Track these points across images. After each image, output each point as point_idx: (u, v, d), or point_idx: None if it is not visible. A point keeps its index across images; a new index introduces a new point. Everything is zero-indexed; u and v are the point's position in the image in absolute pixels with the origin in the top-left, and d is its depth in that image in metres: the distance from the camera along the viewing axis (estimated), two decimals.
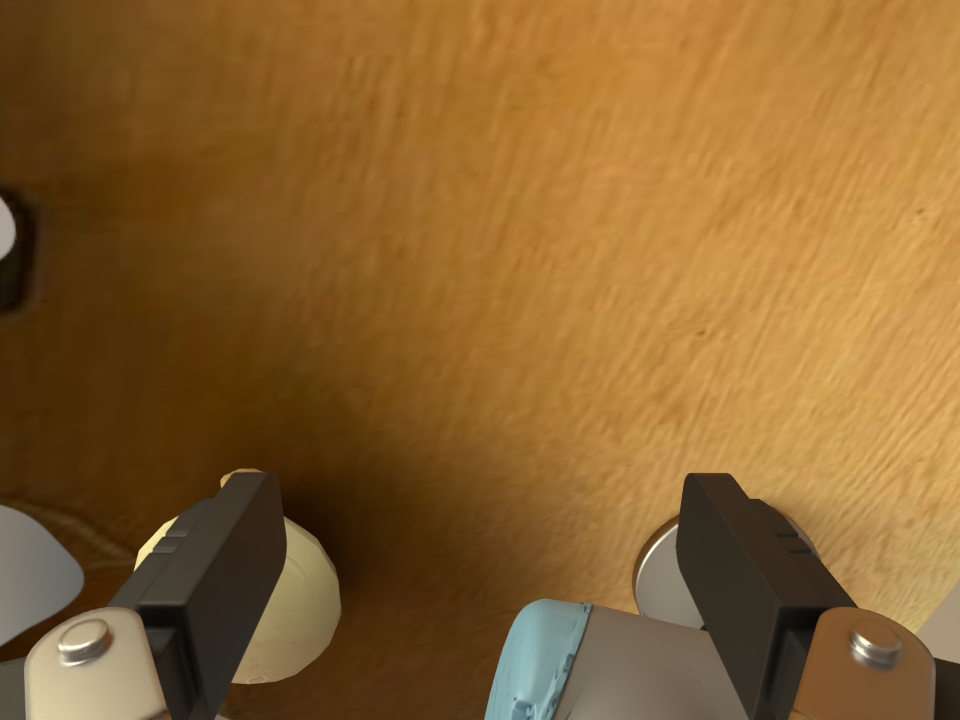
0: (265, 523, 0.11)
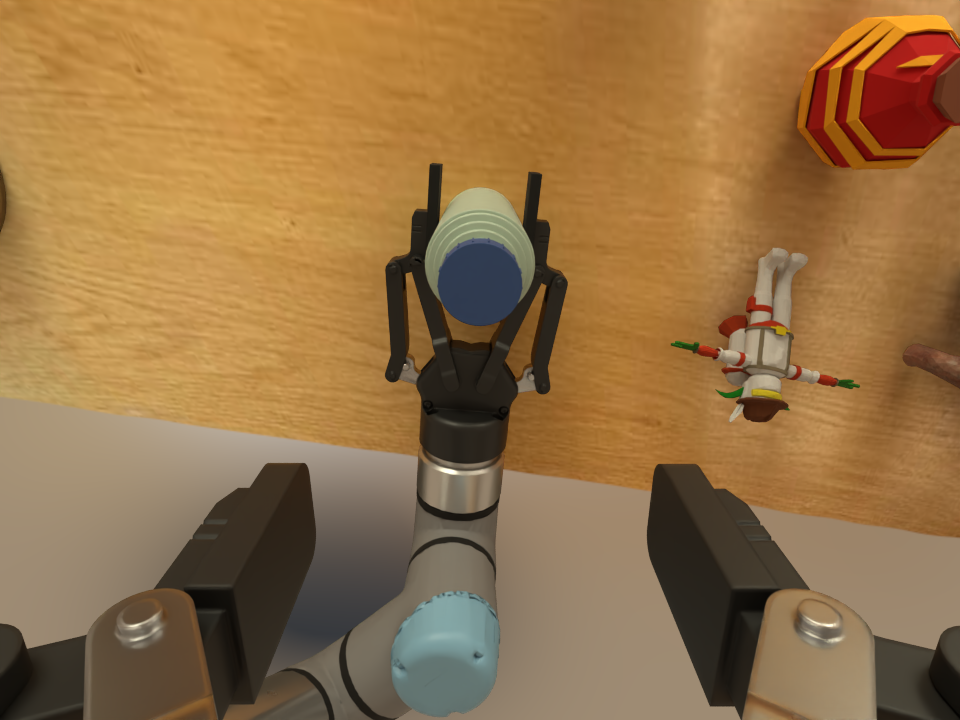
0: (298, 512, 0.11)
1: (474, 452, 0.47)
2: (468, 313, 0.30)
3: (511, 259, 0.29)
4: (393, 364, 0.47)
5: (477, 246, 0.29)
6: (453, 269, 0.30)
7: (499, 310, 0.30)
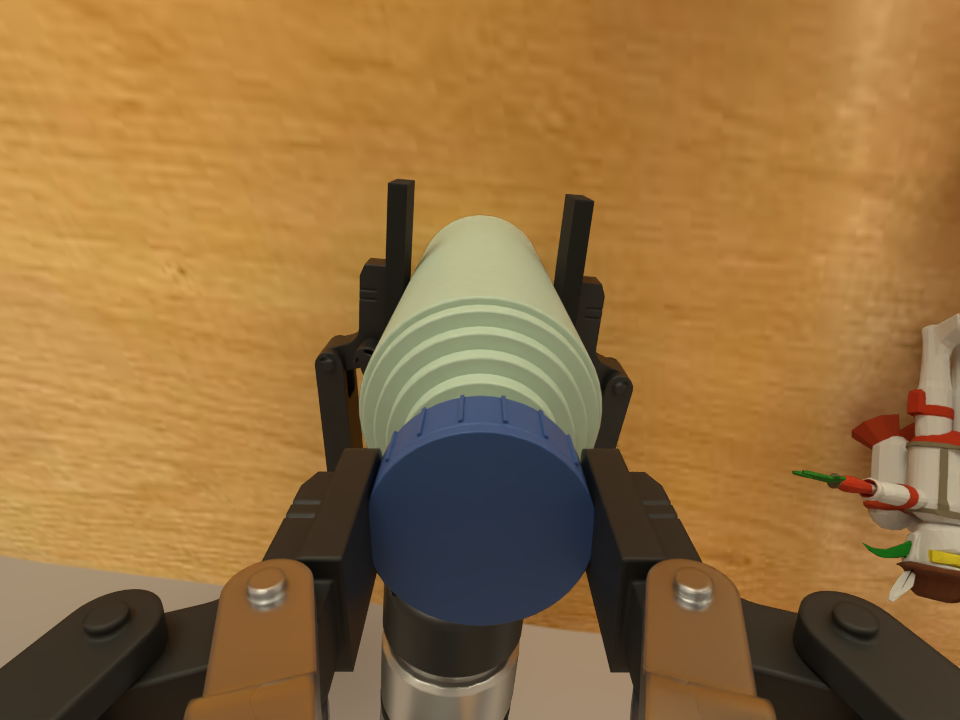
0: None
1: (471, 661, 0.28)
2: (449, 599, 0.11)
3: (569, 472, 0.10)
4: None
5: (473, 440, 0.10)
6: (406, 497, 0.11)
7: (532, 592, 0.11)
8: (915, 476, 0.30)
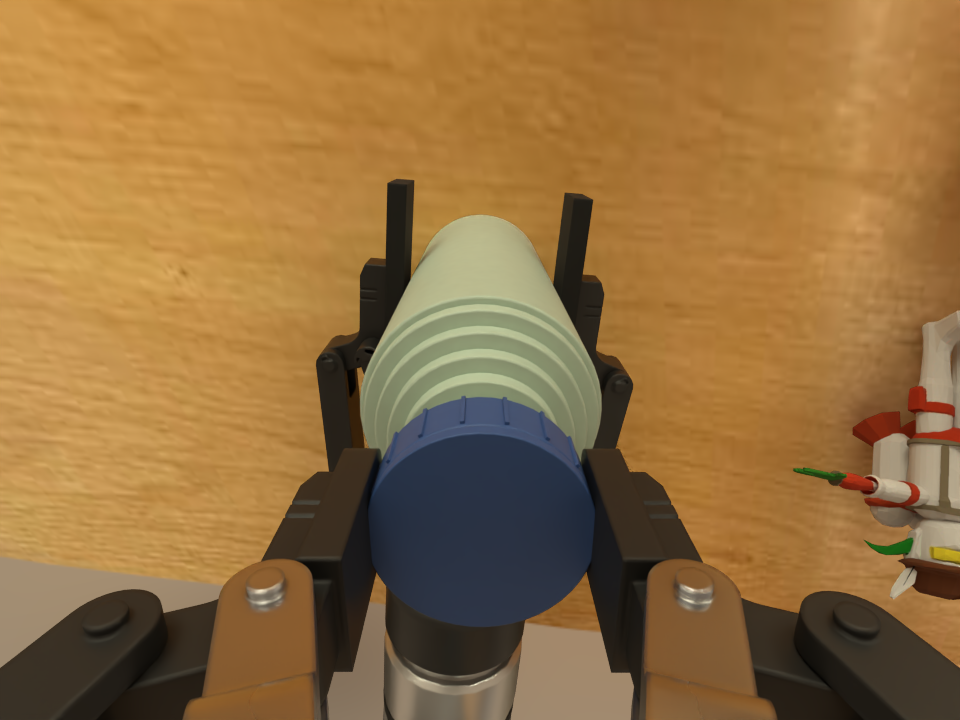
0: None
1: (473, 659, 0.28)
2: (566, 545, 0.11)
3: (386, 481, 0.10)
4: None
5: (382, 564, 0.11)
6: (458, 601, 0.11)
7: (537, 475, 0.10)
8: (916, 473, 0.30)
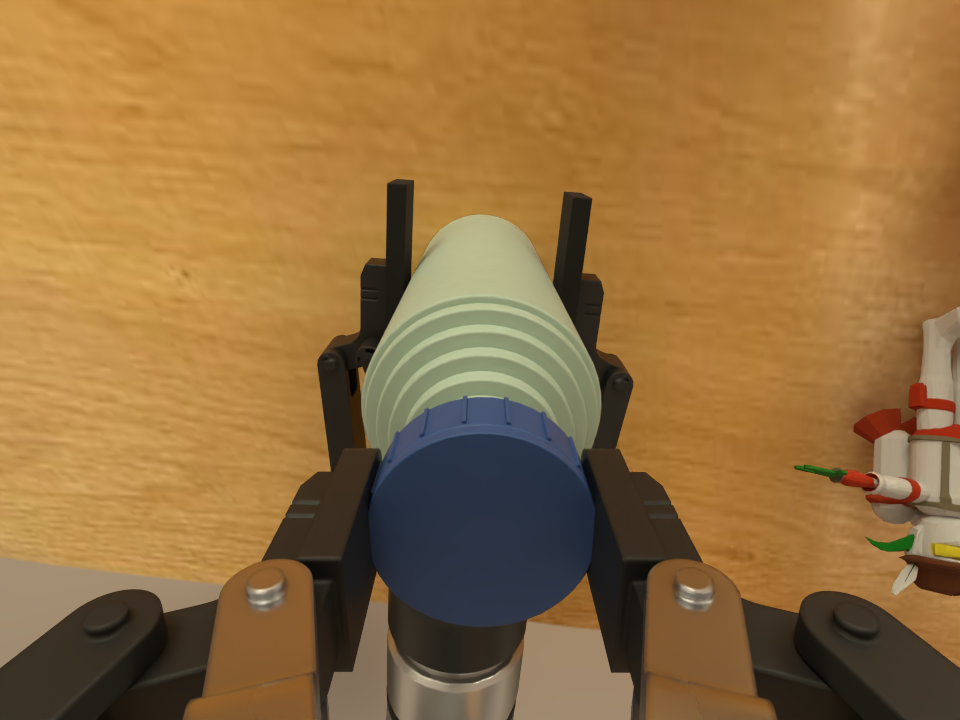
0: None
1: (476, 657, 0.28)
2: (468, 462, 0.10)
3: (447, 618, 0.12)
4: None
5: (539, 604, 0.11)
6: (566, 537, 0.11)
7: (397, 509, 0.11)
8: (917, 470, 0.30)
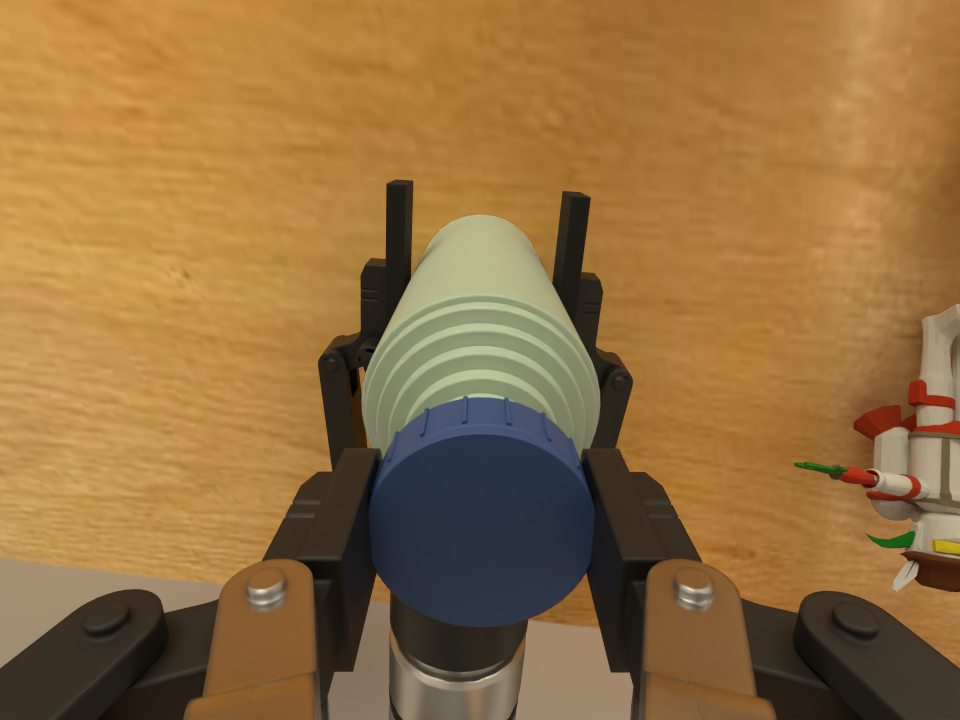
0: None
1: (478, 655, 0.28)
2: (404, 566, 0.11)
3: (591, 542, 0.11)
4: None
5: (553, 464, 0.10)
6: (458, 465, 0.10)
7: (472, 607, 0.11)
8: (917, 466, 0.30)
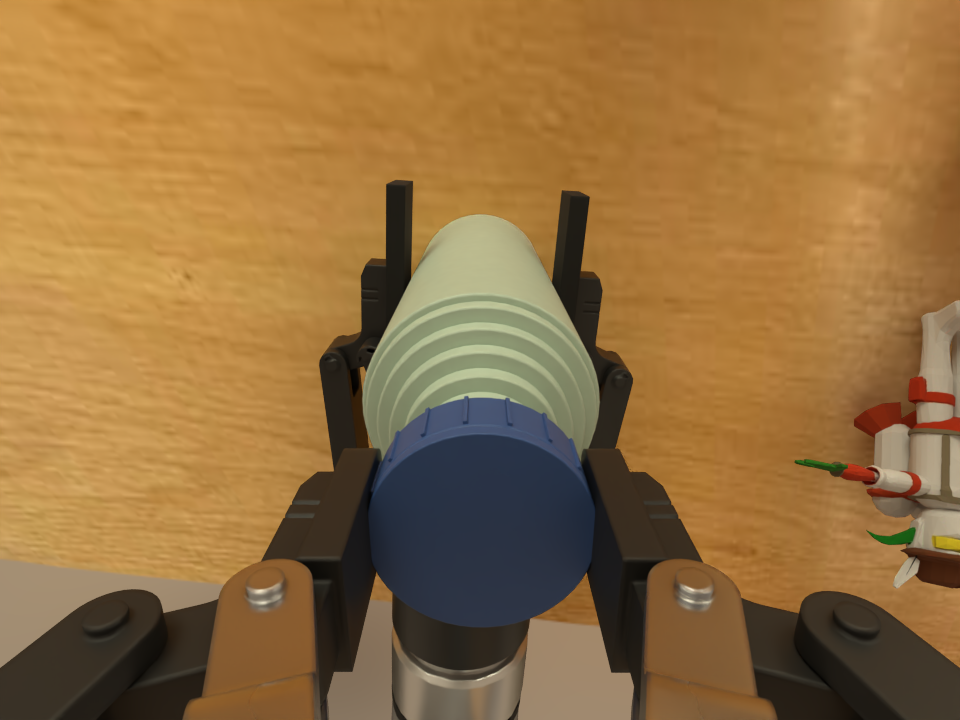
0: None
1: (480, 654, 0.28)
2: (534, 590, 0.11)
3: (457, 439, 0.10)
4: None
5: (382, 498, 0.11)
6: (410, 572, 0.11)
7: (570, 525, 0.11)
8: (917, 463, 0.31)
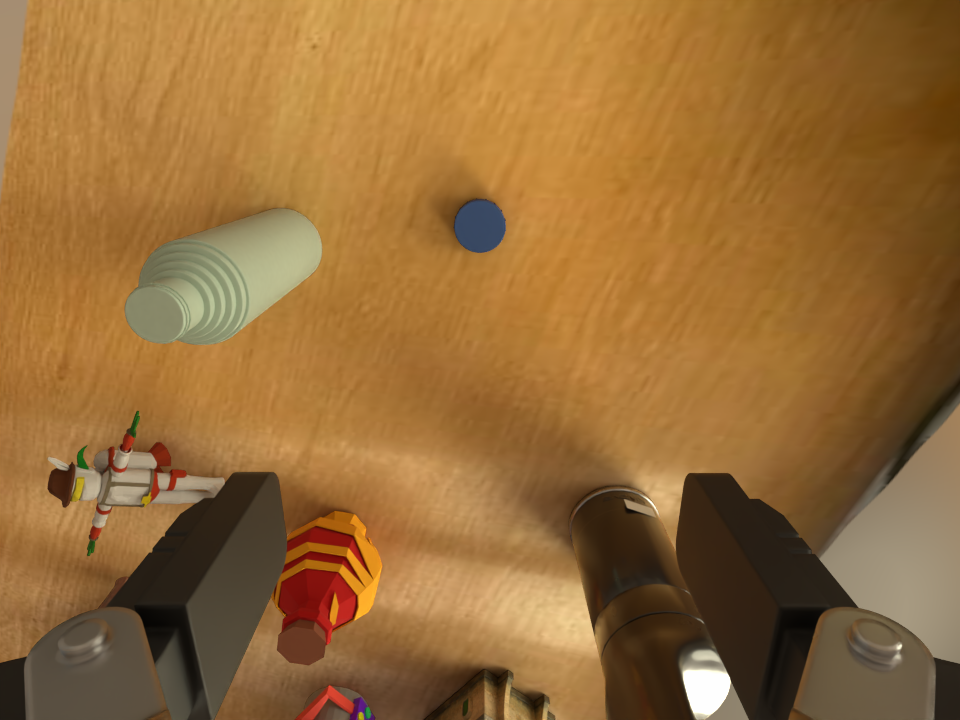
0: (266, 522, 0.11)
1: None
2: (492, 241, 0.50)
3: (474, 202, 0.49)
4: None
5: (458, 217, 0.49)
6: (463, 236, 0.50)
7: (499, 223, 0.49)
8: (131, 472, 0.54)
